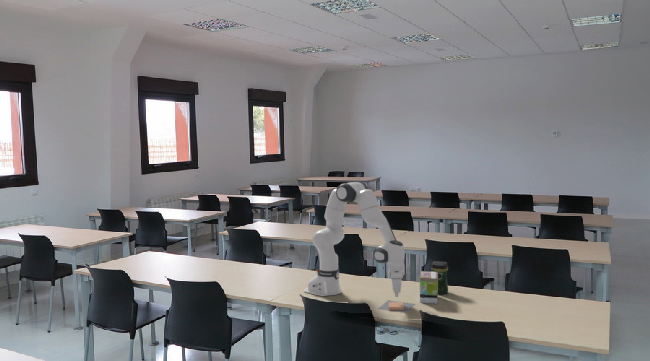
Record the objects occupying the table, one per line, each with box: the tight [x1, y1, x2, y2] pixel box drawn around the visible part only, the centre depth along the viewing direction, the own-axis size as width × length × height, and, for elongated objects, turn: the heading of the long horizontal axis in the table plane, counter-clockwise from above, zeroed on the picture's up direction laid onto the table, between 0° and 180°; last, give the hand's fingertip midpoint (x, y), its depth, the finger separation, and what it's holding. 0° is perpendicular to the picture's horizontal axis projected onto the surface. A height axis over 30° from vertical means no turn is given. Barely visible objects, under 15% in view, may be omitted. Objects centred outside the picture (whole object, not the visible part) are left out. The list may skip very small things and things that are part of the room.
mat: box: [377, 299, 416, 314], centre depth 282 cm, size 16×16×1 cm
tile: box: [388, 301, 404, 311], centre depth 279 cm, size 2×8×8 cm
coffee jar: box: [430, 260, 449, 295], centre depth 307 cm, size 10×8×19 cm
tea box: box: [419, 270, 439, 305], centre depth 294 cm, size 15×10×15 cm, turn 168°
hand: (396, 296), depth 281 cm, fingers closed
